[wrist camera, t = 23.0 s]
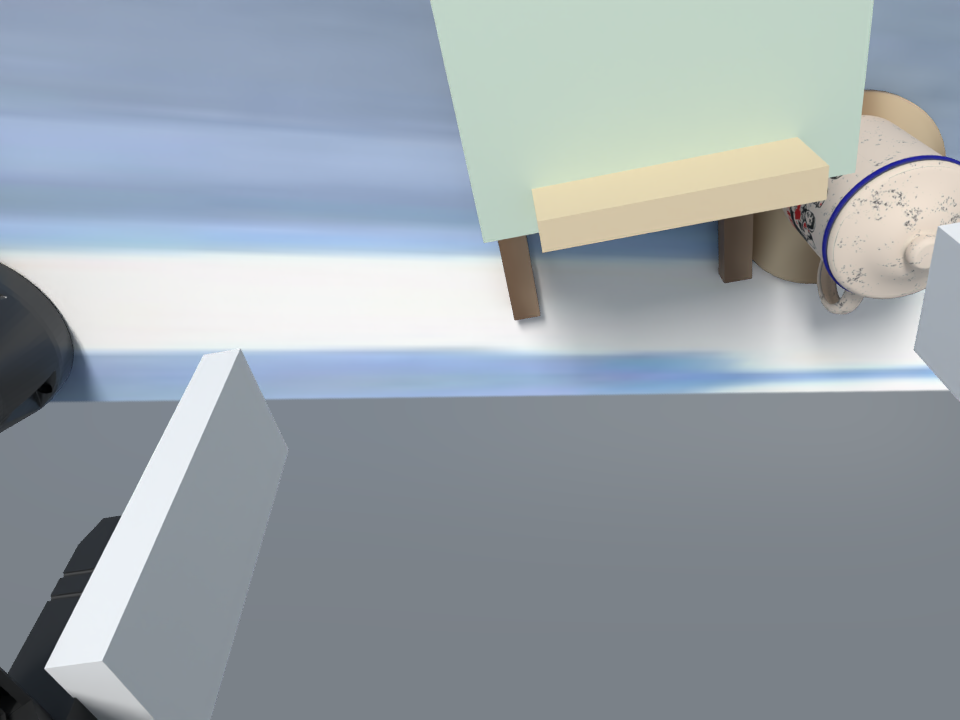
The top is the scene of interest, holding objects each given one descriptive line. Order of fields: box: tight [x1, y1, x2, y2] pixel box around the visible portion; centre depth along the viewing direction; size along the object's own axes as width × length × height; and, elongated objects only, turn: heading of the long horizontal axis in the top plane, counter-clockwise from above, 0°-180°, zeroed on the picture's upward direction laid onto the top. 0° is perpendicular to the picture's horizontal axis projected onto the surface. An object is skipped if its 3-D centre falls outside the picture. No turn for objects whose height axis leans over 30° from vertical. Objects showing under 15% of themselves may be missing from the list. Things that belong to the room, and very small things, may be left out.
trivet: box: [752, 90, 946, 284], centre depth 51 cm, size 14×14×1 cm
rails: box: [498, 214, 753, 320], centre depth 46 cm, size 18×30×2 cm, turn 12°
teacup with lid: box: [782, 115, 960, 314], centre depth 45 cm, size 12×9×12 cm
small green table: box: [430, 0, 874, 253], centre depth 34 cm, size 17×14×18 cm
